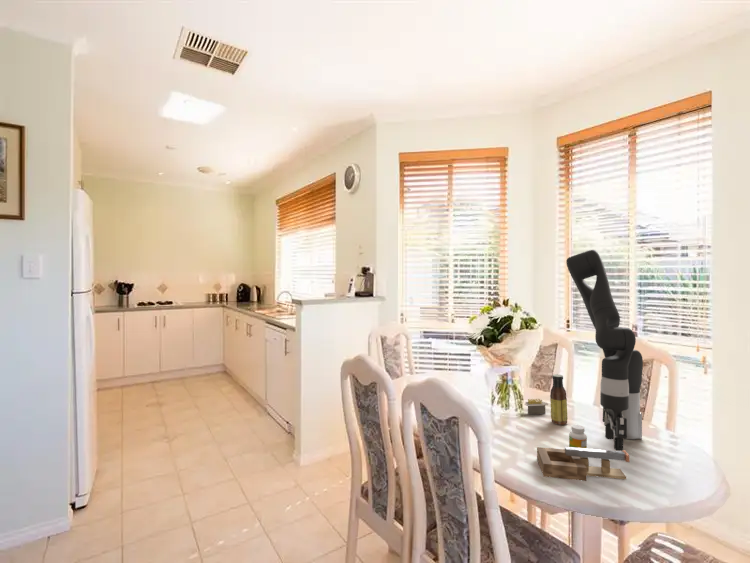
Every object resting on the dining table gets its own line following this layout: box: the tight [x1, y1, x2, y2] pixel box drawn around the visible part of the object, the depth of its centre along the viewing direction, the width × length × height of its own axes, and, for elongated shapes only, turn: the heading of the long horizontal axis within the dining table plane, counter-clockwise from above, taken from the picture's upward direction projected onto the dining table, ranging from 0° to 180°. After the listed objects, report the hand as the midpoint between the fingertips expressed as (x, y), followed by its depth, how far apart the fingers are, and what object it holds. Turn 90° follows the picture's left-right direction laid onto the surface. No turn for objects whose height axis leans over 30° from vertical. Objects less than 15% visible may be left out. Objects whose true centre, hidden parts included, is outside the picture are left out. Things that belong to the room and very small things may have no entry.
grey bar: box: [564, 446, 631, 463], centre depth 124 cm, size 18×4×2 cm, turn 77°
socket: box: [536, 446, 587, 482], centre depth 127 cm, size 12×12×4 cm
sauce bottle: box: [549, 373, 568, 426], centre depth 165 cm, size 7×6×20 cm
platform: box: [525, 398, 549, 415], centre depth 177 cm, size 12×18×7 cm, turn 95°
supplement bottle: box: [568, 424, 588, 448], centre depth 136 cm, size 5×5×10 cm
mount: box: [580, 457, 627, 480], centre depth 124 cm, size 12×5×4 cm, turn 77°
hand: (613, 444), depth 123 cm, fingers open, 8 cm apart
